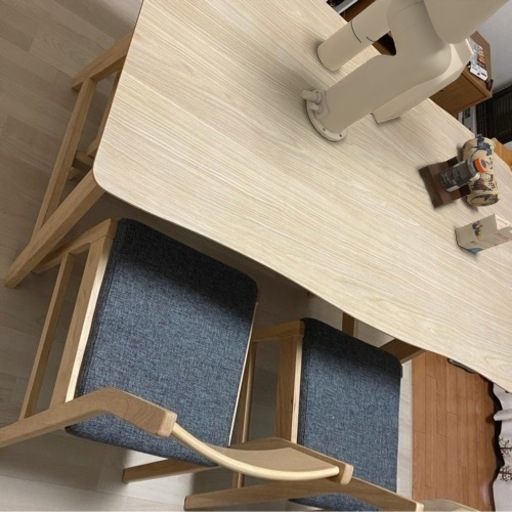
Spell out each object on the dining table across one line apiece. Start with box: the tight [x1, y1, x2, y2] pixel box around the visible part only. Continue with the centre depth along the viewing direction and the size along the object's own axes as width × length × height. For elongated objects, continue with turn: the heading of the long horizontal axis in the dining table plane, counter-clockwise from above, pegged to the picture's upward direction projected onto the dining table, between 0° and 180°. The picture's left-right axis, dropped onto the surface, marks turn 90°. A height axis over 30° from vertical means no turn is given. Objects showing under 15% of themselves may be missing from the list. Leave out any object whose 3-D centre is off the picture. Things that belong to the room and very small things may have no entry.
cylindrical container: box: [316, 0, 393, 72], centre depth 131 cm, size 7×7×25 cm
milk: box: [371, 38, 475, 124], centre depth 140 cm, size 12×12×26 cm
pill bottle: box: [440, 157, 488, 192], centre depth 149 cm, size 6×6×11 cm
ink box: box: [455, 213, 512, 254], centre depth 151 cm, size 8×5×15 cm, turn 89°
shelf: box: [418, 155, 473, 209], centre depth 153 cm, size 12×11×6 cm
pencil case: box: [461, 133, 501, 208], centre depth 165 cm, size 22×8×10 cm, turn 173°
